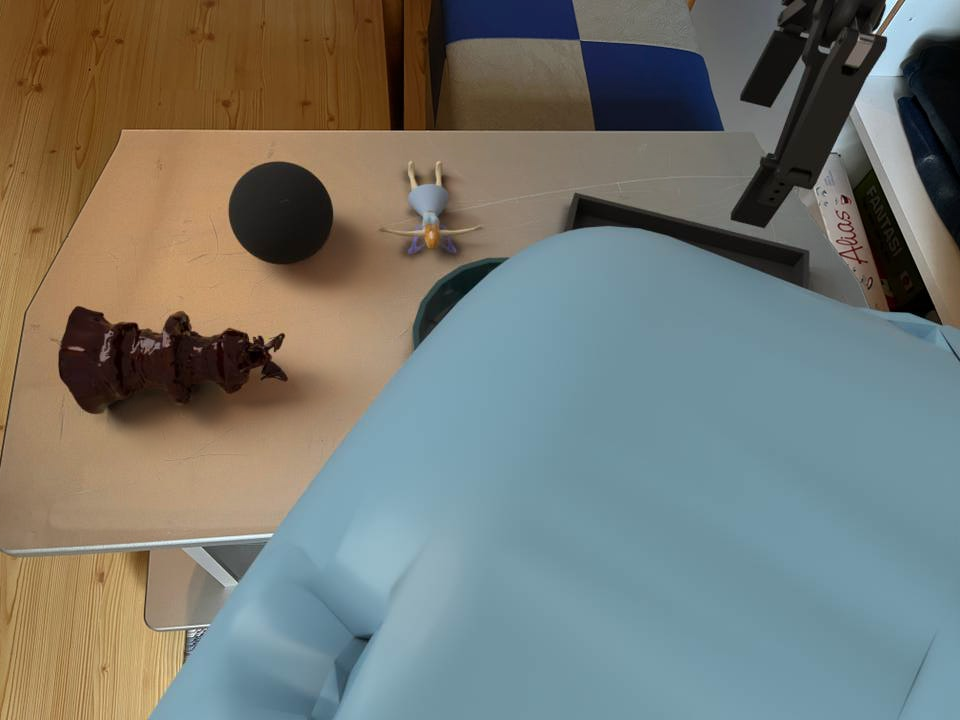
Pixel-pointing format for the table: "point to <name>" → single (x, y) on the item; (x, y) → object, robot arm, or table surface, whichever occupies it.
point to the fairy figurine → (429, 211)
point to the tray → (695, 237)
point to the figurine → (155, 359)
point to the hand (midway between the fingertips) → (751, 158)
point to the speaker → (280, 213)
